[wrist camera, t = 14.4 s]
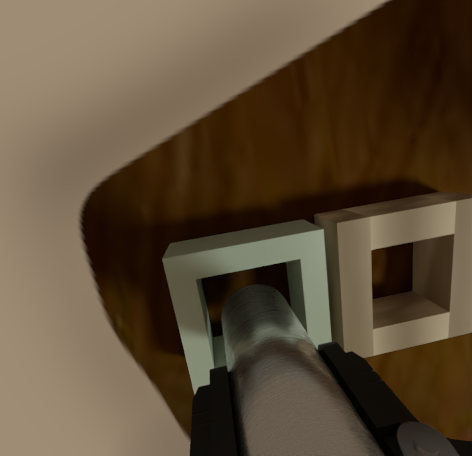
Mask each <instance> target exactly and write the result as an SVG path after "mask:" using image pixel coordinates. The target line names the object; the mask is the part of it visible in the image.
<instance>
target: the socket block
mask: <svg viewBox="0 0 472 456" xmlns="http://www.w3.org/2000/svg"><path fill="white" fill-rule="evenodd" d="M314 221H315V225H316V226H318V227H320V228H323V229H324V241H325V255H326V269H327V283H328V297H329V311H330V325H331V339H332V341H336V342H337V343H338V344H339V345H340V346H341V348H342V349H343V350H344V351H345V353H346V352H351V351H353V352H354V353H356V354H357V355H359V356H360V357H362V358H365V357H370V356H374V355H378V354H382V353H387V352H391V351H395V350H399V349H404V348H408V347H412V346H416V345H421V344H425V343H429V342H433V341H438V340H442V339H446V338H450V337H455V336H459V335H463V334H467V333H472V194H463V193H450V192H435V193H430V194H424V195H419V196H413V197H408V198H402V199H396V200H391V201H385V202H380V203H374V204H369V205H363V206H358V207H352V208H346V209H341V210H335V211H330V212H324V213H319V214H314ZM409 242H413V282H412V291H409V292H404V293H400V294H395V295H390V296H386V297H381V298H376V299H372V267H371V250H374V249H379V248H384V247H389V246H394V245H399V244H404V243H409Z"/></svg>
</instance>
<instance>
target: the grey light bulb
mask: <svg viewBox="0 0 472 456" xmlns="http://www.w3.org/2000/svg"><path fill="white" fill-rule="evenodd" d="M221 320H222V328H223V337H224V345H225V354H226V363H227V368H228V374H229V382H230V390H231V399H232V407H233V415H234V424H235V432H236V440H237V448H238V456H385V454H384V452H383V451H382V449H381V448H380V446H379V445H378V443H377V442H376V440H375V438H374V437H373V435H372V434H371V432H370V431H369V429H368V428H367V426H366V424H365V423H364V421H363V420H362V418H361V417H360V415H359V414H358V412H357V410H356V409H355V407H354V406H353V404H352V403H351V401H350V399H349V398H348V396H347V395H346V393H345V392H344V390H343V389H342V387H341V385H340V384H339V382H338V381H337V379H336V378H335V376H334V375H333V373H332V371H331V370H330V368H329V367H328V365H327V364H326V362H325V361H324V359H323V357H322V356H321V354H320V353H319V351H318V350H317V348H316V346H315V345H314V343H313V342H312V340H311V339H310V337H309V336H308V334H307V332H306V331H305V329H304V328H303V326H302V325H301V323H300V322H299V320H298V318H297V317H296V315H295V314H294V312H293V311H292V309H291V308H290V306H289V304H288V303H287V301H286V300H285V298H284V297H283V295H282V294H281V293H280V292H279V291H278V290H276V289H275V288H273V287H271V286H268V285H263V284H253V285H248V286H245V287H242V288H240V289H239V290H237V291H236V292H234V293H233V294H232V295H231V296H230V297H229V298H228V300H227V301H226V303H225V305H224V307H223V310H222V315H221Z"/></svg>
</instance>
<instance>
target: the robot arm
mask: <svg viewBox="0 0 472 456" xmlns="http://www.w3.org/2000/svg"><path fill="white" fill-rule="evenodd" d="M318 351H319V353H320V354H321V356H322V357H323V359H324V361H325V362H326V364H327V365H328V367H329V368H330V370H331V371H332V373H333V375H334V376H335V378H336V379H337V381H338V382H339V384H340V385H341V387H342V389H343V390H344V392H345V393H346V395H347V396H348V398H349V399H350V401H351V403H352V404H353V406H354V407H355V409H356V410H357V412H358V414H359V415H360V417H361V418H362V420H363V421H364V423H365V424H366V426H367V428H368V429H369V431H370V432H371V434H372V435H373V437H374V438H375V440H376V442H377V443H378V445H379V446H380V448H381V449H382V451H383V452H384V454H385V456H472V441H462V440H454V439H449V438H446V437H444V436H443V435H442V434H441V433H440V432H438V431H437V430H436V429H434V428H432V427H430V426H428V425H426V424H423V423H420V422H419V421H418V420H417V419H416V418H415V417H414V416H413V415H412V414H411V412H410V411H409V410H408V409H407V408H406V407H405V406H404V404H403V403H402V402H401V401H400V400H399V399H398V397H397V396H396V395H395V394H394V393H393V392H392V390H391V389H390V388H389V387H388V386H387V385H386V383H385V382H384V381H382V379H381V378H380V376H379V375H378V374H377V373H376V372H374V370H373V368H372V367H371V366H370V365H369V364H368V363H367V361H366V360H365V359H364V358H362V357H360V356H359V355H357V354H356V353H354V352H353V351H351V352H346V353H345V351H344V350H343V349H342V348H341V346H340V345H339V344H338V343H337V342H336V341H332V342H328V343H323V344H319V345H318ZM191 426H192V429H191V444H190V456H238V448H237V440H236V432H235V424H234V415H233V407H232V399H231V390H230V382H229V374H228V368H227V365H226V366H222V367H218V368H213V369H210V384H209V385H205V386H200V387H198V389H197V391H196V394H195V396H194V398H193V404H192V424H191Z"/></svg>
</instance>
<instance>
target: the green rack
mask: <svg viewBox="0 0 472 456" xmlns="http://www.w3.org/2000/svg"><path fill="white" fill-rule="evenodd" d="M162 261H163V265H164V269H165V273H166V278H167V282H168V286H169V290H170V294H171V298H172V303H173V307H174V311H175V315H176V319H177V323H178V328H179V332H180V336H181V340H182V344H183V348H184V352H185V357H186V361H187V365H188V369H189V373H190V377H191V382H192V386H193V390H194V394H196V391H197V389H198V387H200V386H205V385H209V384H210V369H213V368H218V367H222V366H226V365H227V363H226V354H225V345H224V337H223V335H221V336H217V337H213V335H212V330H211V325H210V320H209V315H208V310H207V305H206V300H205V295H204V291H203V286H202V281H201V278H205V277H210V276H215V275H221V274H226V273H231V272H236V271H241V270H246V269H251V268H256V267H262V266H267V265H272V264H277V263H282V262H286V266H287V275H288V284H289V293H290V302H291V309H292V311H293V312H294V314H295V315H296V317H297V318H298V320H299V322H300V323H301V325H302V326H303V328H304V329H305V331H306V332H307V334H308V336H309V337H310V339H311V340H312V342H313V343H314V345H315V346H316V348H317V350H318V345H319V344H323V343H328V342H332V339H331V325H330V311H329V297H328V283H327V269H326V255H325V241H324V229H323V228H320V227H318V226H316V225H314V224H312V223H310V222H308V221H306V220H303V219H301V220H296V221H290V222H285V223H279V224H274V225H268V226H263V227H257V228H252V229H246V230H241V231H235V232H230V233H224V234H219V235H213V236H208V237H202V238H197V239H191V240H186V241H180V242H174V243H170V244H169V246H168V248H167V250H166V252H165V254H164V256H163V258H162Z"/></svg>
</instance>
